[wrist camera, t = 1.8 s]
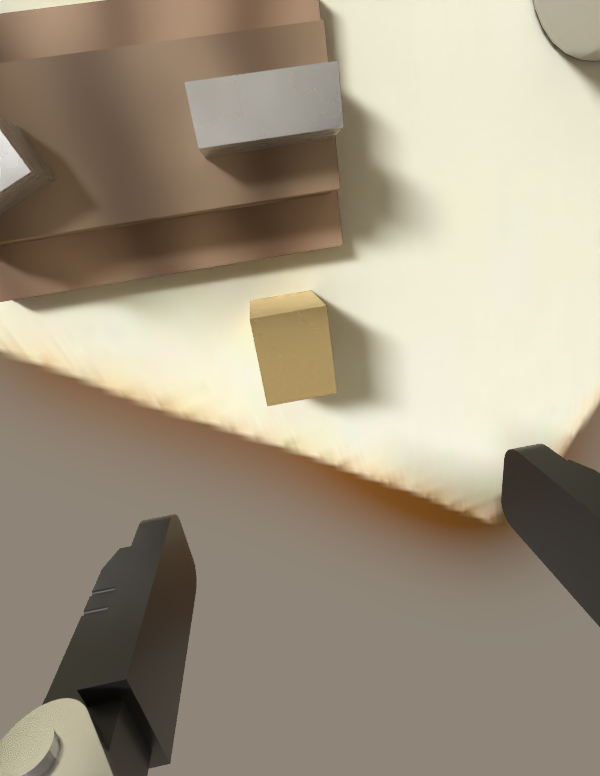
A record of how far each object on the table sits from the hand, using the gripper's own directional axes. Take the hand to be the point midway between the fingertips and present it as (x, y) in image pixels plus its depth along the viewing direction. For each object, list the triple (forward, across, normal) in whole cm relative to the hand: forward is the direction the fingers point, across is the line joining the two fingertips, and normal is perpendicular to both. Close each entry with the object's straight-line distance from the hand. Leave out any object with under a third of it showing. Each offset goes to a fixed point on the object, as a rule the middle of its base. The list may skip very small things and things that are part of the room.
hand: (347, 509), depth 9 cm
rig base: (+18, +6, -11) cm, 22 cm away
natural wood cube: (+18, 0, 0) cm, 18 cm away
